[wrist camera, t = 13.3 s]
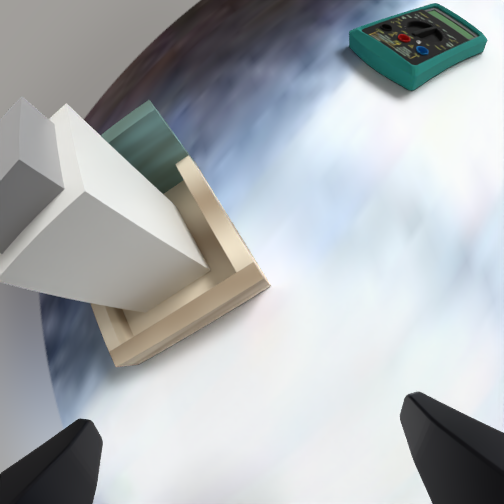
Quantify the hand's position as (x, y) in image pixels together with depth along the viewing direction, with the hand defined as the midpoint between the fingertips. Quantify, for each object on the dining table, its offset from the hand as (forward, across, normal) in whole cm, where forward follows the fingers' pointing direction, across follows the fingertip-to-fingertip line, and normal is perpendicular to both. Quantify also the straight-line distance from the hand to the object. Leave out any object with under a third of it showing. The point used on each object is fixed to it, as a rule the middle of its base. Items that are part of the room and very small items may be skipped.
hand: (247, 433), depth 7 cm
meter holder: (+13, +5, -1) cm, 14 cm away
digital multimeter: (+18, -19, -18) cm, 32 cm away
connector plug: (+13, +5, -2) cm, 14 cm away
